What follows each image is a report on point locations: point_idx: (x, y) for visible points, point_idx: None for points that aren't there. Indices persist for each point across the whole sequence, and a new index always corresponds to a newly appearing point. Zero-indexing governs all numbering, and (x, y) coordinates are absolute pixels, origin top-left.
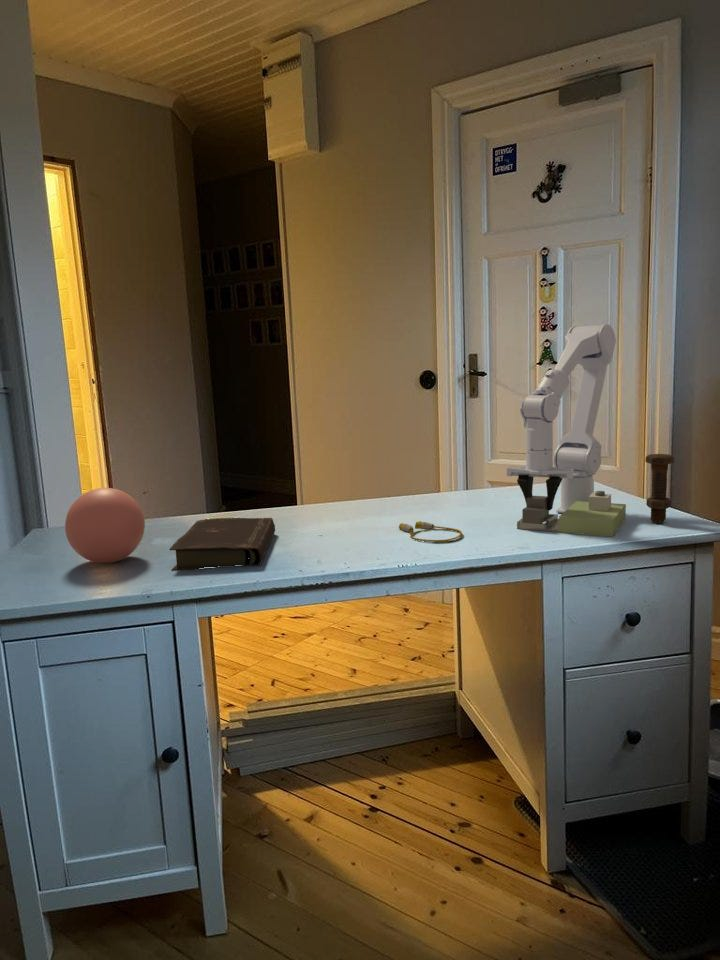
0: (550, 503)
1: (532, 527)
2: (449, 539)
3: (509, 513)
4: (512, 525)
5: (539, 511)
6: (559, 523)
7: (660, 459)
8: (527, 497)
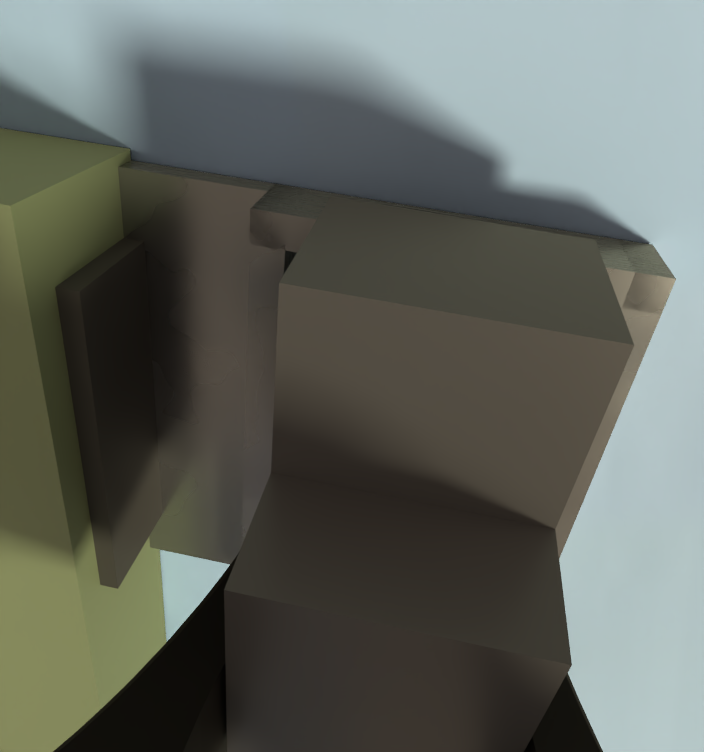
0: (203, 599)
1: None
2: None
3: (693, 744)
4: (700, 390)
5: (305, 280)
6: (67, 176)
7: None
8: (551, 740)
